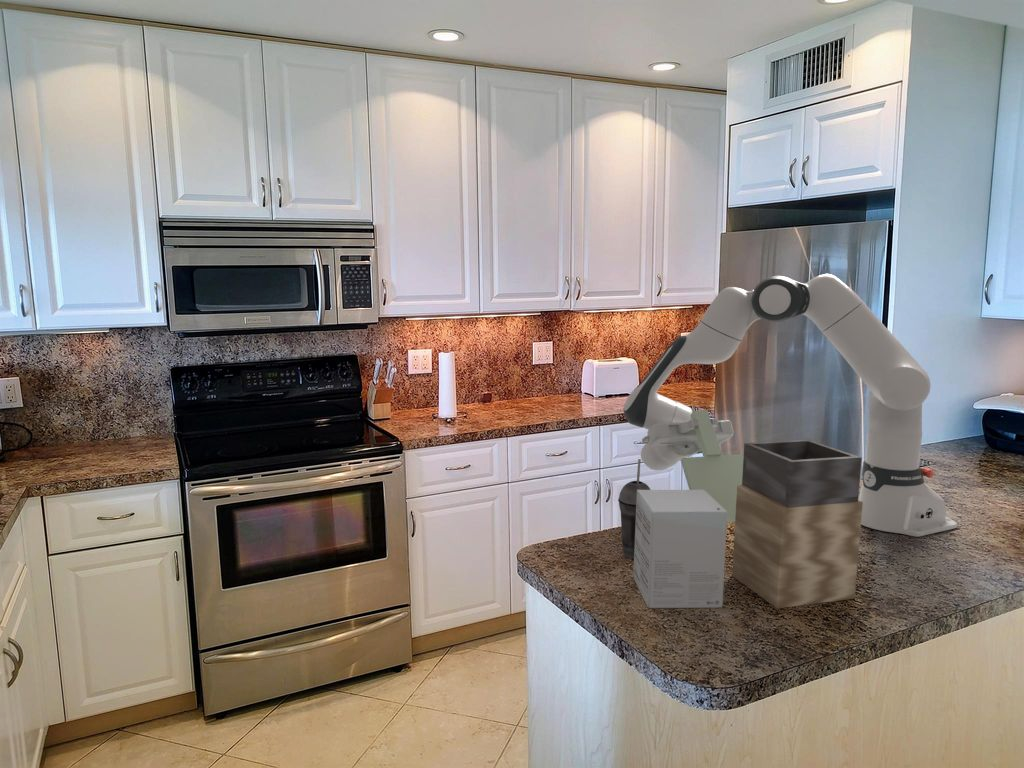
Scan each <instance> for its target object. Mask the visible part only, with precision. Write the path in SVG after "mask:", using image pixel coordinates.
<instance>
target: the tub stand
mask: <svg viewBox="0 0 1024 768" xmlns="http://www.w3.org/2000/svg"><path fill="white" fill-rule="evenodd" d="M743 444H744V445H743V454H744V458H743V475H742V485H737V498H736V515H735V522H734V535H733V554H732V566H731V567H732V570H731V576H732V577H733V578H735V579H736V580H737V581H739V582H740V583H741V584H743V585H744V586H745V587H747V588H748V589H749V590H751V591H752V592H754V593H755V594H757V596H758V597H759V596H760V597H761V598H762V599H763V600H764V601H766V602H768V603H769V604H770V605H771V606H773V607H775V609H782V608H783V609H784V608H789V607H796V606H797V607H798V606H805V605H813V604H822V603H831V602H837V601H838V602H839V601H844V600H845V601H846V600H853V599H855V598H856V597H855V596H856V587H857V586H856V585H857V573H858V564H859V550H860V540H861V538H860V537H861V528H862V525H861V517H862V506H863V501H860V500H859V495H860V483H861V474H862V459H863V457H862V456H858V455H856V454H853V453H850V452H846V451H844V450H841V449H838V448H835V447H832V446H829V445H826V444H823V443H820V442H817V441H814V440H811V439H797V440H796V439H795V440H794V439H793V440H782V441H781V440H780V441H777V440H776V441H764V442H763V441H762V442H761V441H760V442H758V441H757V442H746V443H745V442H744V443H743Z"/></svg>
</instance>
